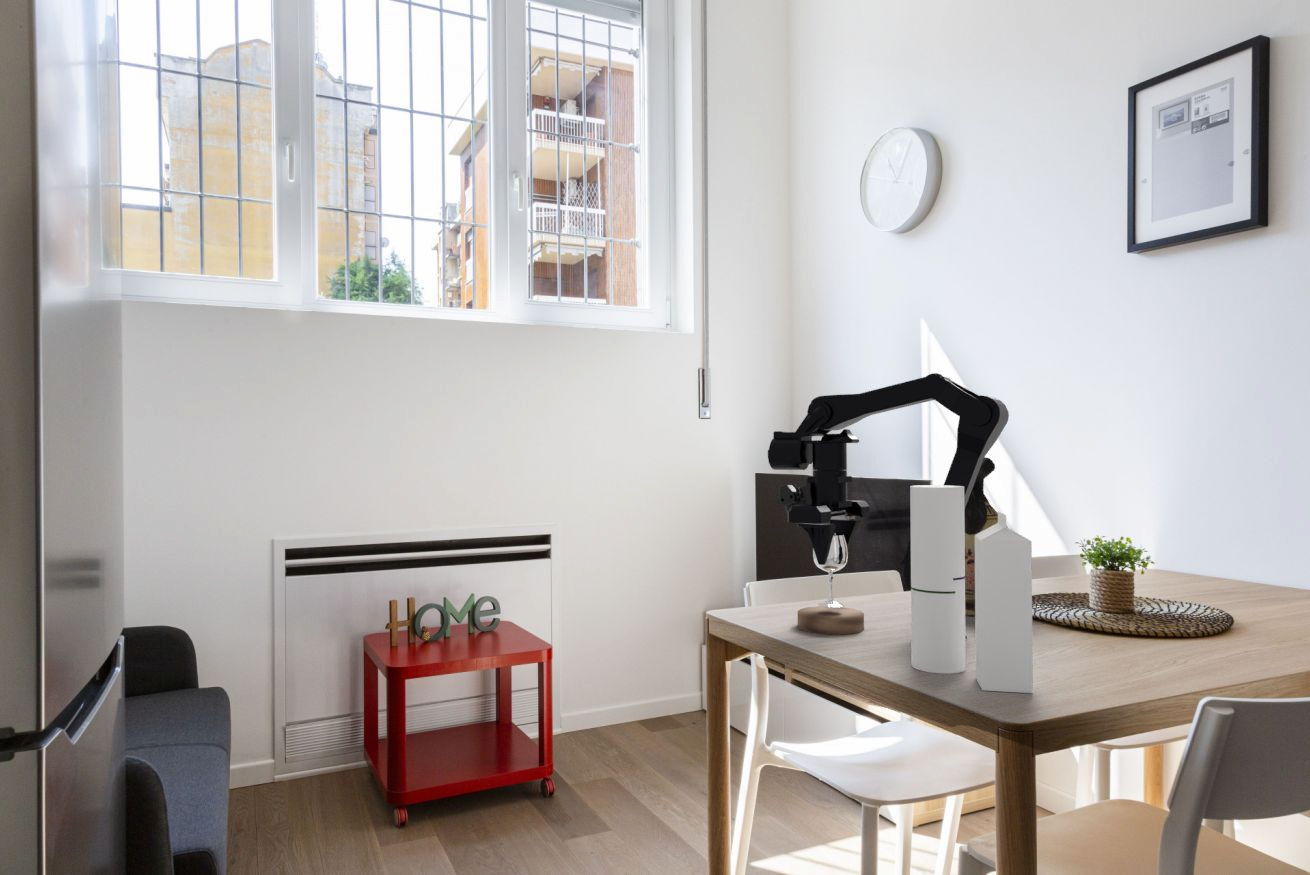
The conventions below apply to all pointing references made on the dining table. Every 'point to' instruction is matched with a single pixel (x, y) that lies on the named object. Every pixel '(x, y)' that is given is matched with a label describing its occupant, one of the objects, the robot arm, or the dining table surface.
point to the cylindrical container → (938, 578)
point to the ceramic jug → (976, 529)
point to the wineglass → (834, 565)
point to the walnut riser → (830, 620)
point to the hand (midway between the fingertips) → (830, 562)
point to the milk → (1003, 609)
